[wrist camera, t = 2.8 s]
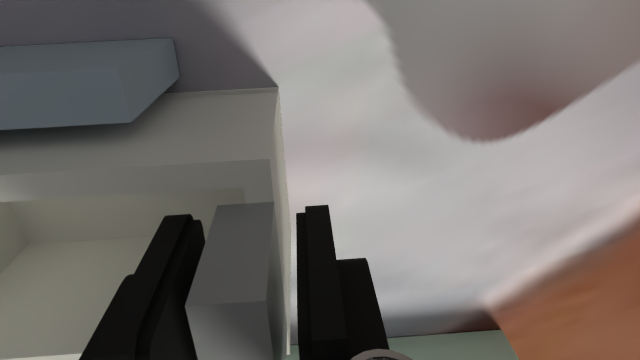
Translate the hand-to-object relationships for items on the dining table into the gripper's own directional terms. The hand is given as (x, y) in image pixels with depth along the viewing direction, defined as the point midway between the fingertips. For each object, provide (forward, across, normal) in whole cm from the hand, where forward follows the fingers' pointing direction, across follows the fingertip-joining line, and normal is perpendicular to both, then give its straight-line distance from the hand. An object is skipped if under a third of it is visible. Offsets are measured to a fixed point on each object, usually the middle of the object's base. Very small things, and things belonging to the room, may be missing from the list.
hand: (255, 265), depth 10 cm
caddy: (+6, +4, 0) cm, 7 cm away
